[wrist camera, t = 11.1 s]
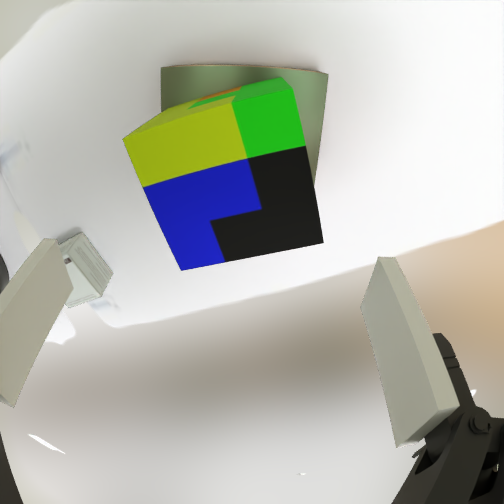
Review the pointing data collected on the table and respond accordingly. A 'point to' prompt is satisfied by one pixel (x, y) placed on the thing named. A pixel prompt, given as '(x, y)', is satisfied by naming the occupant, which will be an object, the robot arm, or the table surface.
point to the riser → (231, 76)
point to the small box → (84, 270)
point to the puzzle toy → (229, 175)
